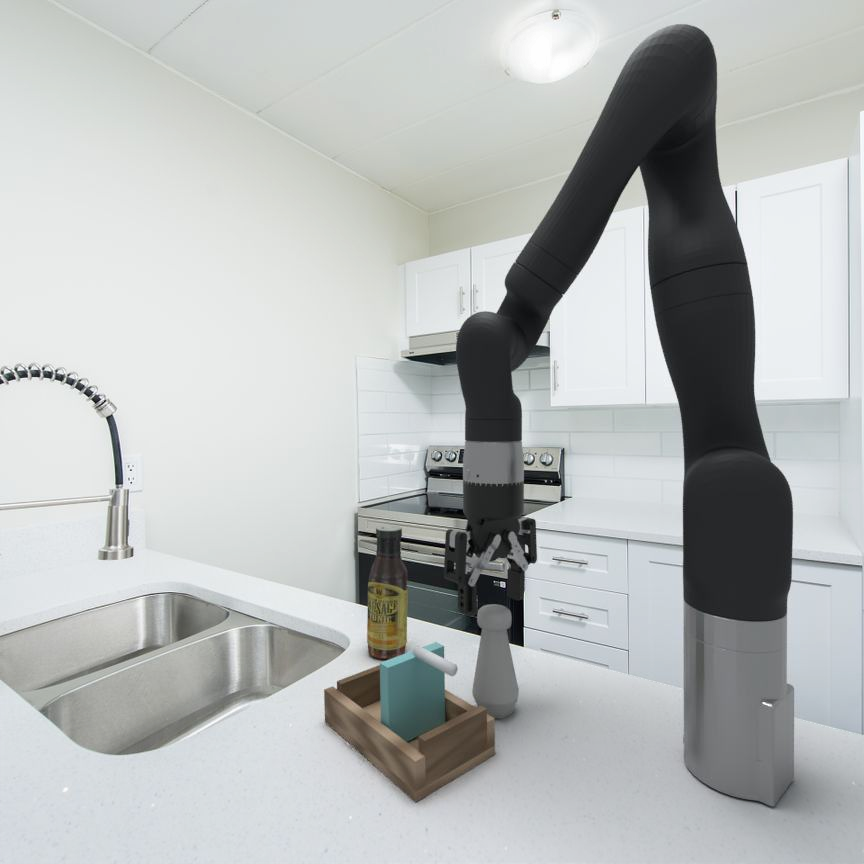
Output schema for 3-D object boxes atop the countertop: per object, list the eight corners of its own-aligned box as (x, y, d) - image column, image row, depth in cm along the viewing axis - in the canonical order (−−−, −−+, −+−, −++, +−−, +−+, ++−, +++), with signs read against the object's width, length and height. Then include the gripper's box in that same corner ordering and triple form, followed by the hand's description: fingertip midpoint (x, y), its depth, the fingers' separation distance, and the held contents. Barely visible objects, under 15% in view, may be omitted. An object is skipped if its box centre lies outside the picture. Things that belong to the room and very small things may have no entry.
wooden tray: (495, 754, 58) (494, 704, 58) (416, 802, 51) (415, 746, 51) (397, 690, 72) (396, 650, 72) (324, 721, 65) (323, 677, 65)
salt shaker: (517, 725, 63) (516, 617, 63) (470, 720, 64) (468, 615, 64) (519, 699, 69) (518, 600, 69) (475, 695, 70) (474, 598, 70)
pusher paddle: (481, 746, 57) (480, 652, 57) (424, 779, 52) (422, 677, 52) (437, 716, 63) (435, 631, 63) (381, 744, 58) (379, 652, 58)
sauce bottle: (360, 657, 82) (357, 529, 81) (379, 641, 88) (376, 522, 87) (398, 664, 79) (395, 532, 79) (415, 647, 85) (413, 524, 85)
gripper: (473, 485, 58) (473, 630, 59) (553, 475, 68) (552, 601, 68) (429, 479, 64) (430, 611, 65) (509, 470, 73) (508, 586, 74)
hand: (492, 606), depth 66 cm, fingers open, 8 cm apart
